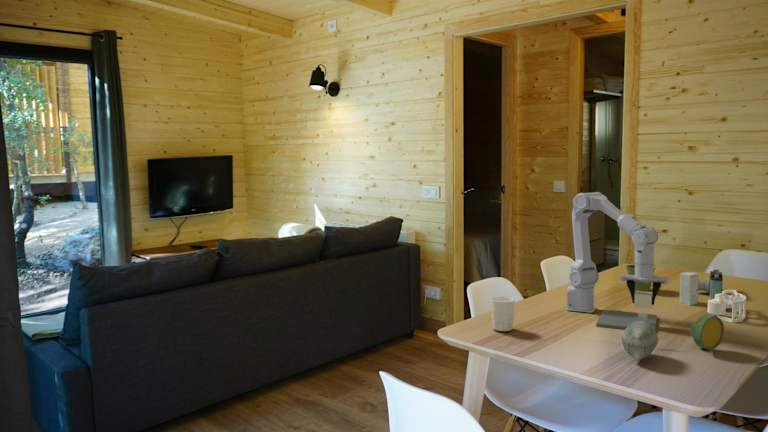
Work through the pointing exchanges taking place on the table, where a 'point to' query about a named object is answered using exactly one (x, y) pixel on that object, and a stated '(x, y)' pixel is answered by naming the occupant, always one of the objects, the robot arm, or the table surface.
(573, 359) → the table surface
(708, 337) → the decorative artifact
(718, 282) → the camera
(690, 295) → the skincare box
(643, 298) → the white drawer cabinet
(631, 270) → the plant pot
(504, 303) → the white cup
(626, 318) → the plate
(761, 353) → the table surface
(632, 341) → the grey rounded piece
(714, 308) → the skeletal toy car
